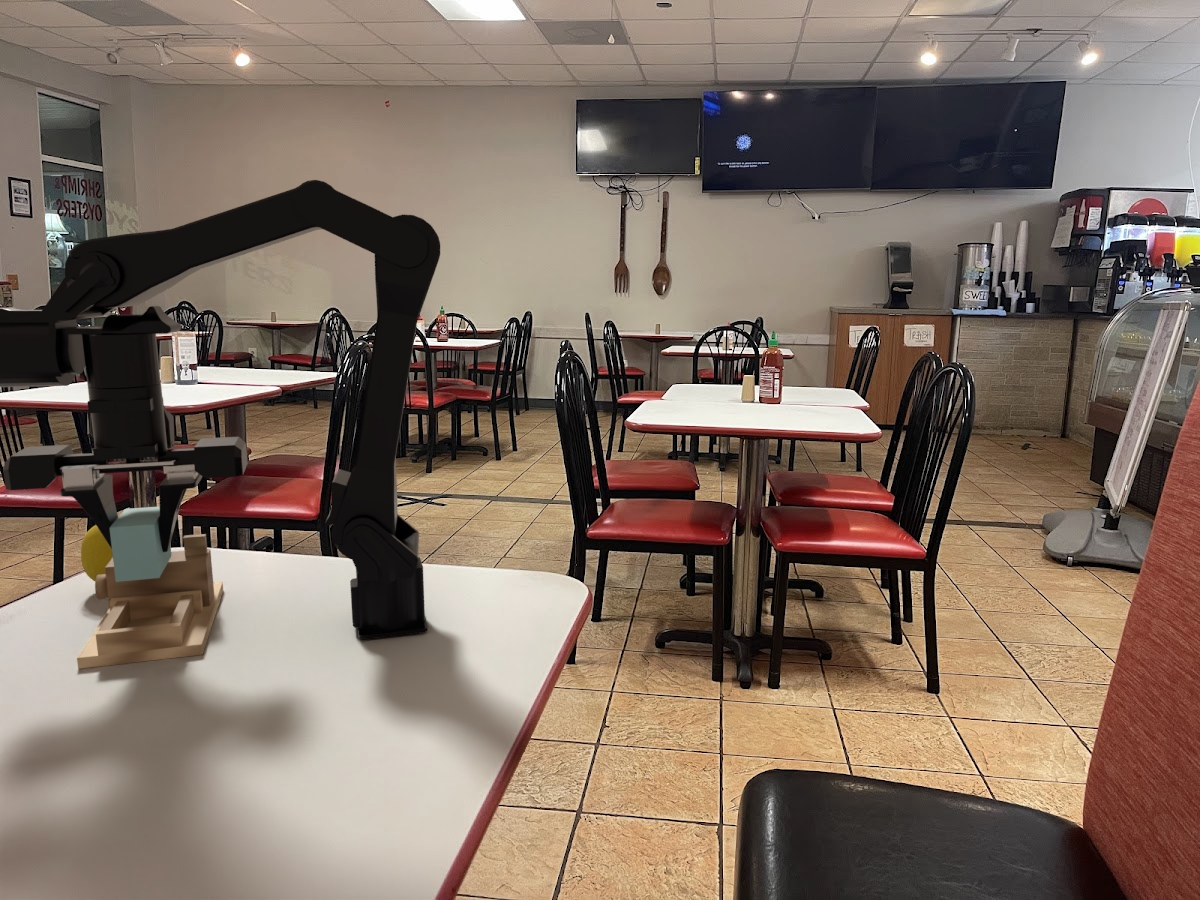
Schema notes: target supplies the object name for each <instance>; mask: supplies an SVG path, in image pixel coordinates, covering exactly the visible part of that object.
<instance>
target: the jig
mask: <svg viewBox="0 0 1200 900" xmlns="http://www.w3.org/2000/svg"><path fill="white" fill-rule="evenodd" d="M213 585H214V596H213V599H212V602H211V605H210V606H205V607H203V603H202V592H201V590H196V591H186V592H175V593H164V594H153V595H143V596H132V597H121V598H112V599H111V600H110V602H109V601H108V604H109V603H110V606H109V608H108V609H107V611H106V612H105V614H104V616H103V617H102V619H101V620H100V622H99V624H98V625H97V626H96V628H95V630H94V631H93V633H92V634H91V636H90V637H89V638H88V640H87V642H86V644H85V645H84V646H83V648H82V650H81V651H80V653H79V654H78V656H77V657H76V662H77V670H78V669H86V668H87V669H88V668H96V667H104V666H113V665H122V664H124V665H125V664H133V663H138V662H139V663H140V662H149V661H150V662H151V661H157V660H165V659H166V660H167V659H175V658H184V657H192V656H193V657H194V656H200V655H203V654H204V651H205V648H206V644H207V643H208V642H207V641H208V638H209V636H210V633H211V631H212V626H213V623H214V620H215V617H216V614H217V611H218V608H219V605H220V602H221V599H222V596H223V592H224V583H223V581H215V582H214V581H213Z"/></svg>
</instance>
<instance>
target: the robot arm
mask: <svg viewBox="0 0 1200 900" xmlns="http://www.w3.org/2000/svg"><path fill="white" fill-rule="evenodd" d="M318 230H324V231H325V232H328V233H331V234H333V235H334V236H337V237H339V238H341V239H343V240H344V241H347V242H349V243H351V244H354V245H355V246H358V247H359V248H361V249H364V250H365V251H367V252H370V253H371V254H374V279H375V281H374V282H375V296H376V311H377V312H376V313H377V314H376V315H377V316H376V317H377V318H376V324H375V328H374V336H373V341H372V350H371V357H370V362H369V370H368V377H367V384H366V390H365V395H364V403H363V408H362V409H363V410H362V417H361V422H360V429H359V437H358V443H357V449H356V454H355V455H356V456H355V461H354V464H353V467H352V469H351V472H350V471H347V470H343V469H341V468H340V469H339V468H338V470H337V471H336V474H335V476H334V478H333V480H332V482H331V486H330V487H331V488H330V489H331V491H330V492H331V495H330V496H331V508H330V511H329V514H328V515H327V518H326V521H325V522H324V526H326V527H329V526H332V528H331V539H332V543H333V546H334V547H336V549H337V550H338V552H340V553H341V554H342V555H343V556H345V557H346V558H347V559H349V560H352V563H353V565H354V567H355V575H356V578H354V577H353V578H351V579H350V580H349V581H350V582H349V583H350V585H349V586H350V600H351V604H350V605H351V618H352V626H353V627H354V628H357V632H358V639H360V640H370V639H379V638H387V637H398V636H404V635H412V634H422V633H427V632H428V630H429V626H428V621H427V618H426V614H425V613H426V612H425V611H426V610H425V589H424V588H425V587H424V586H425V581H424V579H425V578H424V566H423V562H422V560H421V557H419V549H420V545H419V544H420V531H418V529H416V528H415V527H414V526H412V525H411V524H410V523H409V522H408V521H406V520H405V519H404V518H403V517H402V516H401V515H400V514H398V512H399V511H398V486H397V485H398V484H397V483H398V482H397V466H396V464H397V463H396V460H397V459H396V457H397V452H398V451H397V450H398V444H399V438H400V431H401V426H402V418H403V413H404V412H403V411H404V406H405V400H406V392H407V388H408V382H409V375H410V368H411V362H412V356H413V349H414V343H415V337H416V331H417V324H418V321H419V318H420V314H421V312H422V310H423V309H422V308H423V307H424V302H425V301H426V298H427V294H428V291H429V289H430V285H431V283H432V280H433V277H434V275H435V272H436V270H437V266H438V264H439V261H440V257H441V242H440V238H439V235H438V233H437V231H436V230H435V229H434V227H433V226H432V224H430V223H428V221H426V220H425V219H424V218H422V217H419V216H416V215H414V214H399V215H396V216H395V215H394V216H391V215H389V214H388V213H385V212H382V211H381V210H379V209H377V208H374V207H372V206H371V205H368V204H366V203H364V202H362V201H360V200H358V199H356V198H353V197H351V196H350V195H347V194H345V193H343V192H341V191H338V190H337V189H335V188H334V187H333V186H332V185H331V184H329V183H327V181H326V182H325V181H323V180H319V179H311V180H306V181H304V182H302V183H301V184H300V185H297V186H296V187H295V188H292V189H288V190H286V191H283V192H280V193H277V194H273V195H271V196H267V197H263V198H261V199H258V200H255V201H253V202H252V201H251V202H249V203H246V204H244V205H240V206H237V207H234V208H231V209H228V210H224V211H223V212H219V213H216V214H212V215H210V216H207V217H205V218H200V219H198V220H195V221H191V222H189V223H186V224H183V225H179V226H177V227H174V228H169V229H168V228H167V229H163V230H161V229H160V230H154V231H144V232H134V233H124V234H117V235H112V236H111V235H109V236H104V237H97V238H90V239H86V240H82V241H81V242H79V243H77V244H75V245H74V246H73V247H72V248H71V249H70V250H69V251H68V256H67V258H66V261H65V263H64V277H63V280H62V281H61V282H60V284H59V286H58V287H57V289H56V290H55V291H54V293H53V294H52V295H51V296H50V298H49V300H48V301H47V302H46V303H45V305H44V307H43V308H42V309H18V308H15V307H0V388H15V387H16V388H18V387H19V388H21V387H23V388H24V387H68V386H69V385H71V384H72V383H73V381H74V379H75V377H76V375H81V374H83V372H84V371H85V374H86V375H85V376H86V383H87V390H88V391H87V392H88V401H87V408H88V409H87V410H88V414H90V415H89V433H90V436H91V437H92V438H93V441H94V442H93V443H94V448H93V449H92V452H93V453H92V452H91V453H90V452H89V453H75V452H74V451H73V449H72V447H71V445H70V444H63V445H62V444H58V445H57V444H56V445H40V446H39V445H38V446H35V445H34V446H26V447H25V448H22V449H21V450H19V451H18V452H16V453H14V454H12V455H11V456H10V457H8V458H7V460H5V462H4V464H3V470H2V471H3V472H2V473H3V479H4V485H5V490H8V491H20V490H21V491H22V490H38V489H46V488H48V487H50V485H51V484H52V483H53V482H54V481H55V480H56V479H57V478H58V477H61V479H62V487H63V488H61V489H60V490H59V491H60V492H59V493H60V496H61V497H72V498H74V500H75V501H76V502H77V504H79V506H80V507H81V508H82V509H83V510H84V512H85V513H86V514H87V515H88V516H89V518H91V520H92V521H93V522H94V524H95V525H96V526H98V529H99V530H100V532H101V533H102V535H103V536H104V538H105V540H106V541H107V543H108V544H109V546H110V547H111V549H112V545H111V536H110V527H111V525H112V524H113V523H114V522H115V521H116V520H117V518H118V517H119V516H118V512H117V507H116V503H115V498H114V488H113V487H114V485H113V484H114V483H113V481H114V480H113V479H114V478H113V474H114V473H115V474H117V473H132V472H134V473H135V472H147V471H148V472H152V471H163V475H166V477H165V478H163V480H162V482H161V483H160V484H159V485H158V487H159V489H158V490H159V492H158V493H159V497H158V498H159V507H160V540H161V545H162V550H163V552H168V550H169V547H170V546H171V544H172V543H171V542H172V538H173V534H174V532H175V531H174V530H175V527H176V522H177V519H178V515H179V510H180V507H181V504H182V502H183V499H184V497H185V494H186V492H187V489H188V490H189V489H195V488H197V486H198V484H199V483H200V482H201V480H202V478H204V479H218V478H235V477H239V476H243V475H244V473H245V471H246V468H247V466H248V462H249V461H248V452H247V451H248V449H247V445H246V444H247V443H246V442H245V441H244V440H243V439H242V438H241V437H240V436H226V437H225V436H224V437H223V436H222V437H207V438H200V439H199V440H198V441H197V443H196V445H194V447H191V448H189V447H188V448H175V422H174V420H175V419H174V418H175V417H174V415H172V413H171V412H170V411H169V410H168V409H166V407H165V404H164V397H163V392H162V391H163V389H162V383H161V382H162V381H161V371H160V362H159V361H160V360H159V352H158V351H159V350H158V342H157V340H158V339H157V335H158V334H159V335H161V334H162V335H163V334H164V335H167V334H171V333H176V332H179V331H181V329H182V325H181V324H180V323H179V322H177V321H176V320H175V319H174V318H172V317H170V316H169V315H168V314H167V313H165V311H164V309H162V307H161V306H160V305H153V306H151V305H150V306H148V308H147V309H146V311H144V313H142V314H109V315H107V314H108V313H110V312H111V311H113V310H114V309H116V308H126V307H132V306H133V307H134V306H139V305H141V304H144V303H145V302H147V301H150V300H151V299H153V298H154V297H156V296H158V295H159V294H161V293H163V292H166V291H167V290H169V289H170V288H172V287H174V286H175V285H177V284H178V283H180V282H181V281H183V280H185V278H188V277H189V276H191V275H192V274H195V273H196V272H197V271H200V270H202V269H205V268H208V267H211V266H214V265H216V264H219V263H223V262H226V261H228V260H231V259H234V258H237V257H240V256H244V255H246V254H249V253H252V252H256V251H258V250H262V249H264V248H267V247H271V246H273V245H276V244H279V243H282V242H285V241H288V240H291V239H294V238H296V237H299V236H303V235H306V234H308V233H309V234H310V233H312V232H314V231H318ZM106 315H107V316H106ZM104 316H106V318H105V319H104V321H103V324H102V326H98V325H97V326H92V325H91V326H78V323H77V320H82V319H91V318H100V317H104Z"/></svg>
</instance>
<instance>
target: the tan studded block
mask: <svg viewBox="0 0 1200 900" xmlns="http://www.w3.org/2000/svg"><path fill="white" fill-rule="evenodd" d="M182 539H183V548H184V550H178V551H171V558H170V559H169V561H168V563H167V565H166V567H165V569H164V570H163V572H162V574H161V576H160V578H153V579H142V580H131V581H120V582H116V580H115V571H114V562H113V558H112V559H111V560H110V562H109V563H108V564H107V566H106V567H105V571H106V574H102V575H97V577H96V581H94V583H95V584H94V589H95V595H96V598H97V600H103V599H108V606H109V607H110V603H109V602H110V600H111V599H112V598H121V597H132V596H143V595H153V594H164V593H175V592H186V591H196V590H201V592H202V603H203V607H205V606H210V605H211V602H212V599H213V596H214V585H213V583H214V575H213V564H212V563H213V562H212V554H211V551H212V550H211V548H208V543H207V533H204V534H203V533H202V534H188V535H187V534H186V535H183V538H182Z"/></svg>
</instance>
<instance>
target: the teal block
mask: <svg viewBox="0 0 1200 900" xmlns="http://www.w3.org/2000/svg"><path fill="white" fill-rule="evenodd" d="M110 536H111V545H112V554H113V562H114V571H115V580H116V582H120V581H131V580H142V579H153V578H160V576H161V574H162V572H163V570H164V569H165V567H166V565H167V563H168V561H169V559H170V558H171V552H172V547H171V545H170V547H169V550H168V552H163V550H162V545H161V540H160V506H149V507H148V506H147V507H145V506H144V507H136V508H135V507H134V508H133V507H132V508H125V509H124V510H123V511H122V512H121V514H120V515H119V516H118V518H117V520H116V521H115V522H114V523H113V524H112V525H111V527H110Z"/></svg>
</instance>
